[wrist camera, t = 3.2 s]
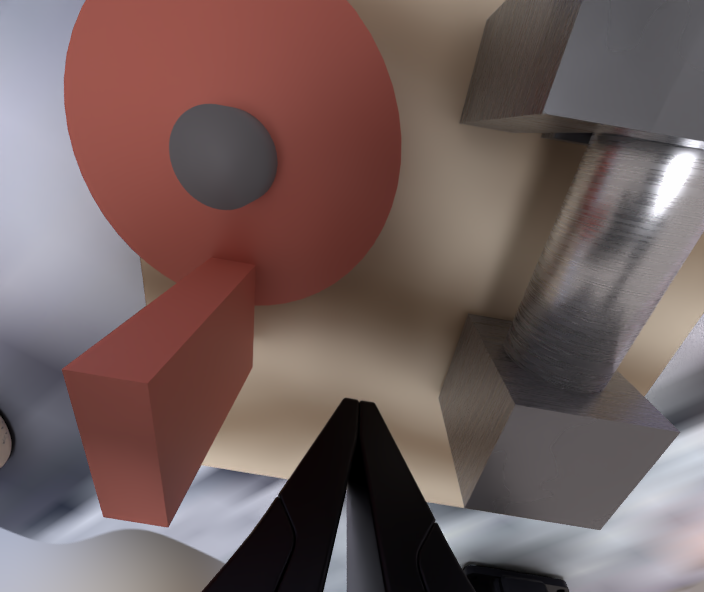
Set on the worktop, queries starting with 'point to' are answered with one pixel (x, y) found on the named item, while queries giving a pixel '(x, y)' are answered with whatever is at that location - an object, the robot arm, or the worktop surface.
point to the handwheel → (215, 206)
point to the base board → (422, 268)
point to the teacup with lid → (4, 443)
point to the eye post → (592, 70)
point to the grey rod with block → (576, 344)
